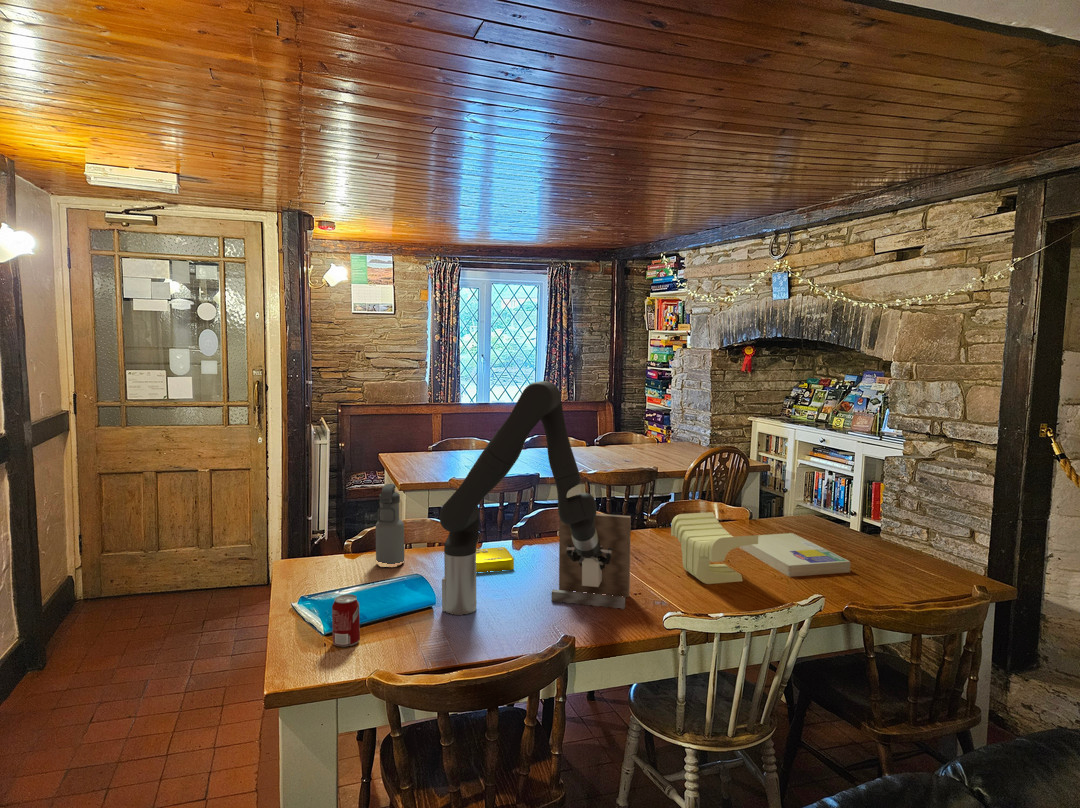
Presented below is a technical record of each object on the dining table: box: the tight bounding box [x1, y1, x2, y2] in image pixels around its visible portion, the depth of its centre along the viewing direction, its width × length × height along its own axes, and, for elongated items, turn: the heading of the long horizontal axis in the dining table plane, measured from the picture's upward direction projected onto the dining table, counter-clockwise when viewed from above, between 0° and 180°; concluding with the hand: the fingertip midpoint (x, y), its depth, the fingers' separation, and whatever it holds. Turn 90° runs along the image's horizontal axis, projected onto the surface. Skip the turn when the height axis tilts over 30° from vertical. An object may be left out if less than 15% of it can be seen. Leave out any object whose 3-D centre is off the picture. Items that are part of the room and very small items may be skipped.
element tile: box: [476, 546, 515, 572], centre depth 239 cm, size 15×15×5 cm
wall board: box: [551, 513, 632, 610], centre depth 207 cm, size 22×12×25 cm, turn 75°
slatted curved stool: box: [670, 511, 759, 585], centre depth 228 cm, size 30×16×18 cm, turn 14°
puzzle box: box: [737, 532, 851, 578], centre depth 248 cm, size 36×5×24 cm
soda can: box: [331, 593, 361, 648], centre depth 176 cm, size 7×7×12 cm
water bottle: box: [375, 483, 405, 564], centre depth 238 cm, size 10×10×28 cm
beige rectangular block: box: [582, 546, 602, 587], centre depth 208 cm, size 5×6×11 cm
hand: (593, 566), depth 210 cm, fingers closed on beige rectangular block, 5 cm apart
